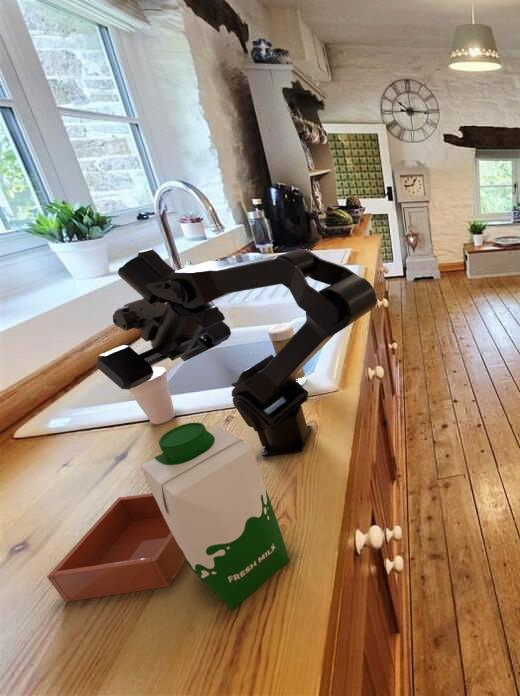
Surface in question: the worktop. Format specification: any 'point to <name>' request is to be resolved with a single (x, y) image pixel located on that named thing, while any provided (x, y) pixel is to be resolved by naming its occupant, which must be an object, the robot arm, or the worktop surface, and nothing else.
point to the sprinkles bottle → (283, 340)
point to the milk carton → (217, 509)
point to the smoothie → (155, 397)
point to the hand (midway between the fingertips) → (158, 371)
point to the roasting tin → (120, 553)
